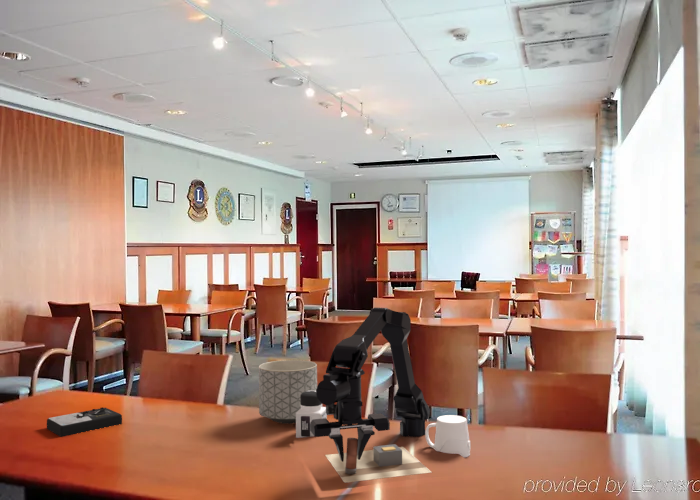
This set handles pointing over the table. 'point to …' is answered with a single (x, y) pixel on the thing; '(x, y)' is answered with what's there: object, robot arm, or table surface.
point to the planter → (284, 388)
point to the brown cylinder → (351, 455)
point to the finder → (387, 455)
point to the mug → (450, 435)
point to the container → (308, 413)
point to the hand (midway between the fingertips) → (350, 460)
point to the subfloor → (377, 467)
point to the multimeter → (83, 421)
